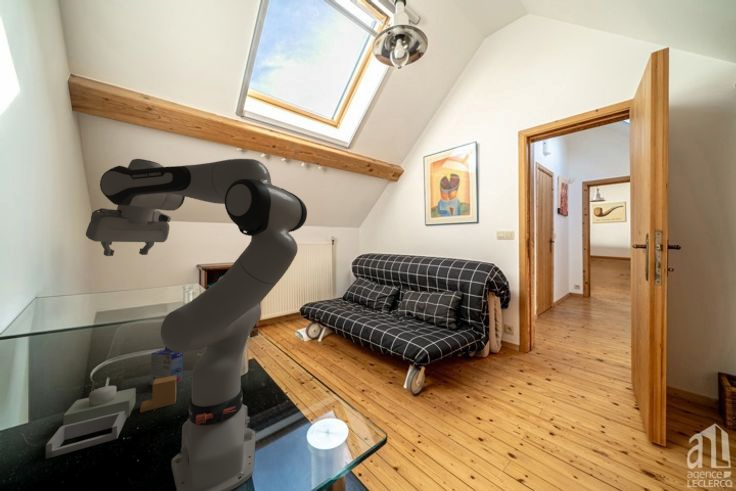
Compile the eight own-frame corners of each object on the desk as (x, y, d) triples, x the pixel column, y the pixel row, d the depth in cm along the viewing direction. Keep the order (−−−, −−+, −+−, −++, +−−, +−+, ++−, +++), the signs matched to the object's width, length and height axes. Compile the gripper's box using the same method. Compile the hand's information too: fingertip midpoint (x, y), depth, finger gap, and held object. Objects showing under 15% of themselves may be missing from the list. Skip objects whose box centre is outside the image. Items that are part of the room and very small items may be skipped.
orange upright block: (175, 403, 88) (175, 379, 89) (140, 412, 84) (140, 387, 84) (176, 398, 92) (176, 375, 92) (142, 406, 87) (143, 381, 87)
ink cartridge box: (183, 380, 104) (184, 344, 104) (170, 387, 99) (171, 349, 99) (163, 378, 106) (163, 342, 106) (149, 385, 101) (150, 347, 101)
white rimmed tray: (119, 438, 72) (119, 408, 72) (42, 459, 65) (43, 426, 65) (135, 402, 89) (135, 378, 89) (76, 416, 82) (76, 390, 82)
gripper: (101, 210, 70) (90, 259, 71) (175, 218, 89) (166, 256, 90) (85, 204, 71) (75, 252, 72) (162, 213, 91) (153, 251, 92)
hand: (126, 254), depth 81 cm, fingers open, 8 cm apart
